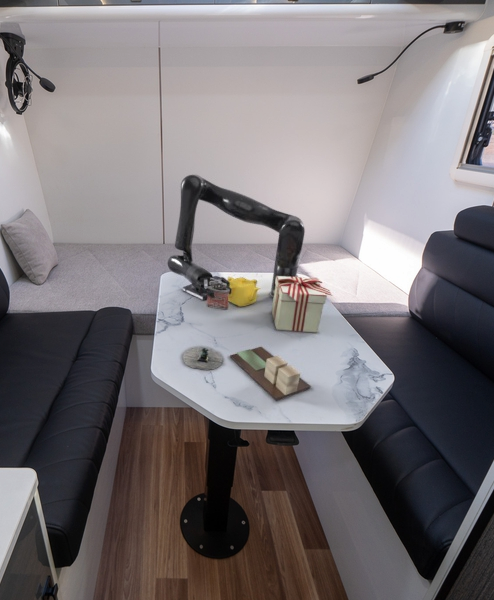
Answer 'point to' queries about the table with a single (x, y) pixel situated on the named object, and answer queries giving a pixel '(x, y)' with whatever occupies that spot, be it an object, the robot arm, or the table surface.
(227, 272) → the table surface
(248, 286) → the teapot
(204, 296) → the notebook
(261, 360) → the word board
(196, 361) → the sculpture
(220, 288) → the lighter
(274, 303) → the gift box
